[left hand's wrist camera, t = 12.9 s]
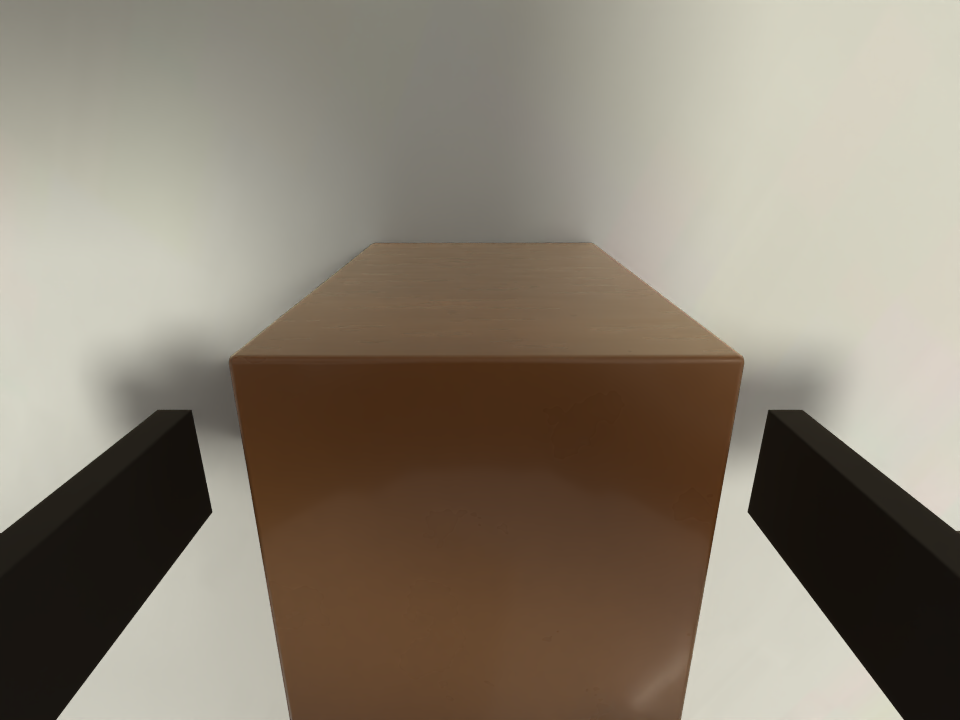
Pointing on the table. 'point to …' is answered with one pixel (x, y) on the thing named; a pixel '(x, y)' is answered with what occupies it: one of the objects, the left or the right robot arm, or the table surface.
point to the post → (485, 485)
